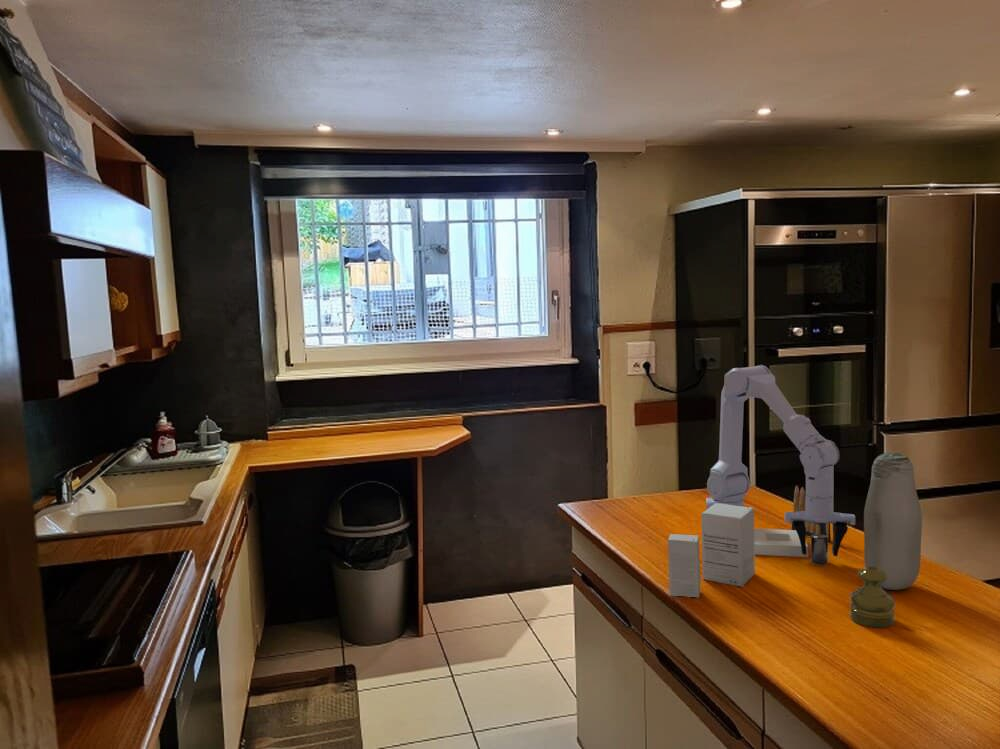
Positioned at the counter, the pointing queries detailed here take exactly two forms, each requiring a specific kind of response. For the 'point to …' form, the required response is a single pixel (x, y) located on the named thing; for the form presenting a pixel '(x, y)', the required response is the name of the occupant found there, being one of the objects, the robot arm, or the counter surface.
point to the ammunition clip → (811, 528)
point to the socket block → (778, 543)
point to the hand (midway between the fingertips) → (819, 553)
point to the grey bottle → (893, 521)
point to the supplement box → (728, 544)
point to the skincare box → (684, 565)
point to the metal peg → (819, 549)
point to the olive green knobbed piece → (872, 600)
